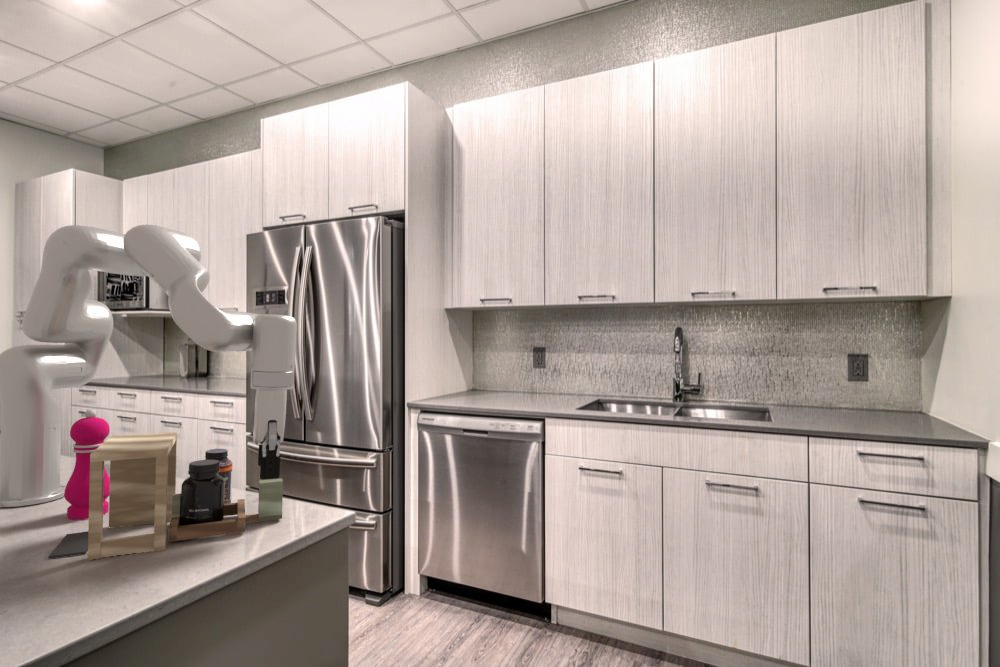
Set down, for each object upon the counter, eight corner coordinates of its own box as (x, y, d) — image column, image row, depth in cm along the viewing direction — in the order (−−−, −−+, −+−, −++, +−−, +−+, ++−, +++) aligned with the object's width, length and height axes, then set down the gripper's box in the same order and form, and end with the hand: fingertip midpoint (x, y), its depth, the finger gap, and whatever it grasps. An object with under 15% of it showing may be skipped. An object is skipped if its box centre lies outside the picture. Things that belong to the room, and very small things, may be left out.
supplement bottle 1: (190, 540, 90) (192, 469, 90) (172, 530, 94) (174, 462, 94) (231, 529, 96) (232, 461, 96) (212, 520, 100) (214, 456, 100)
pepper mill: (85, 522, 97) (88, 412, 98) (53, 518, 99) (56, 410, 99) (121, 510, 105) (123, 407, 105) (90, 506, 106) (93, 405, 106)
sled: (175, 519, 98) (176, 481, 98) (279, 507, 106) (280, 472, 106) (168, 541, 88) (169, 499, 88) (284, 526, 96) (284, 487, 96)
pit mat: (66, 536, 91) (66, 534, 91) (100, 532, 93) (100, 530, 93) (48, 558, 82) (48, 556, 82) (85, 554, 84) (85, 551, 84)
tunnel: (110, 526, 96) (112, 435, 96) (175, 518, 100) (177, 432, 100) (87, 560, 81) (90, 454, 82) (164, 550, 86) (167, 449, 86)
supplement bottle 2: (201, 513, 104) (203, 454, 104) (194, 505, 108) (196, 449, 108) (235, 507, 107) (236, 451, 108) (226, 500, 112) (228, 446, 112)
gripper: (249, 375, 106) (245, 461, 106) (251, 385, 91) (246, 486, 91) (290, 376, 110) (285, 459, 110) (298, 385, 94) (293, 482, 94)
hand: (268, 471), depth 100 cm, fingers open, 9 cm apart
